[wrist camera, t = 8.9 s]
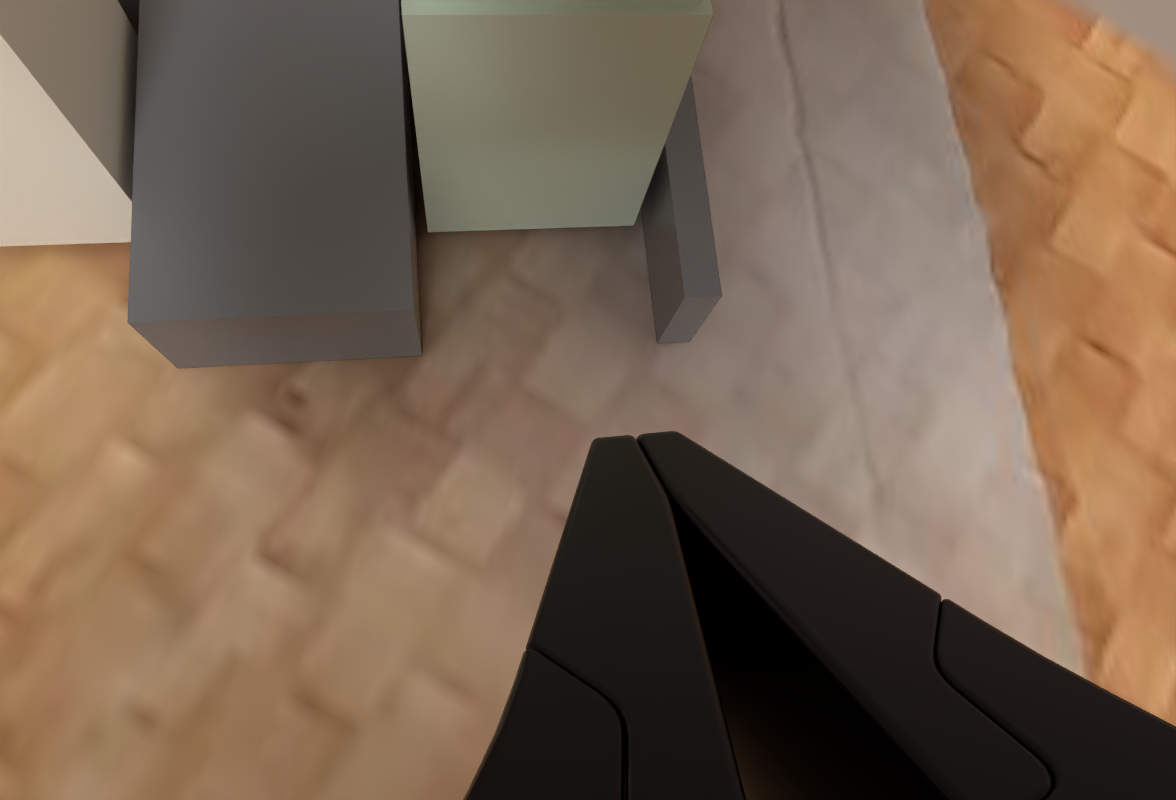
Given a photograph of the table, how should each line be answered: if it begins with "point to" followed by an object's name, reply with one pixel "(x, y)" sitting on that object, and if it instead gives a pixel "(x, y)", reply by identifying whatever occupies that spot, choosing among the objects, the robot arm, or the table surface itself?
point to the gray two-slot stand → (319, 188)
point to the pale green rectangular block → (545, 106)
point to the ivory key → (66, 122)
